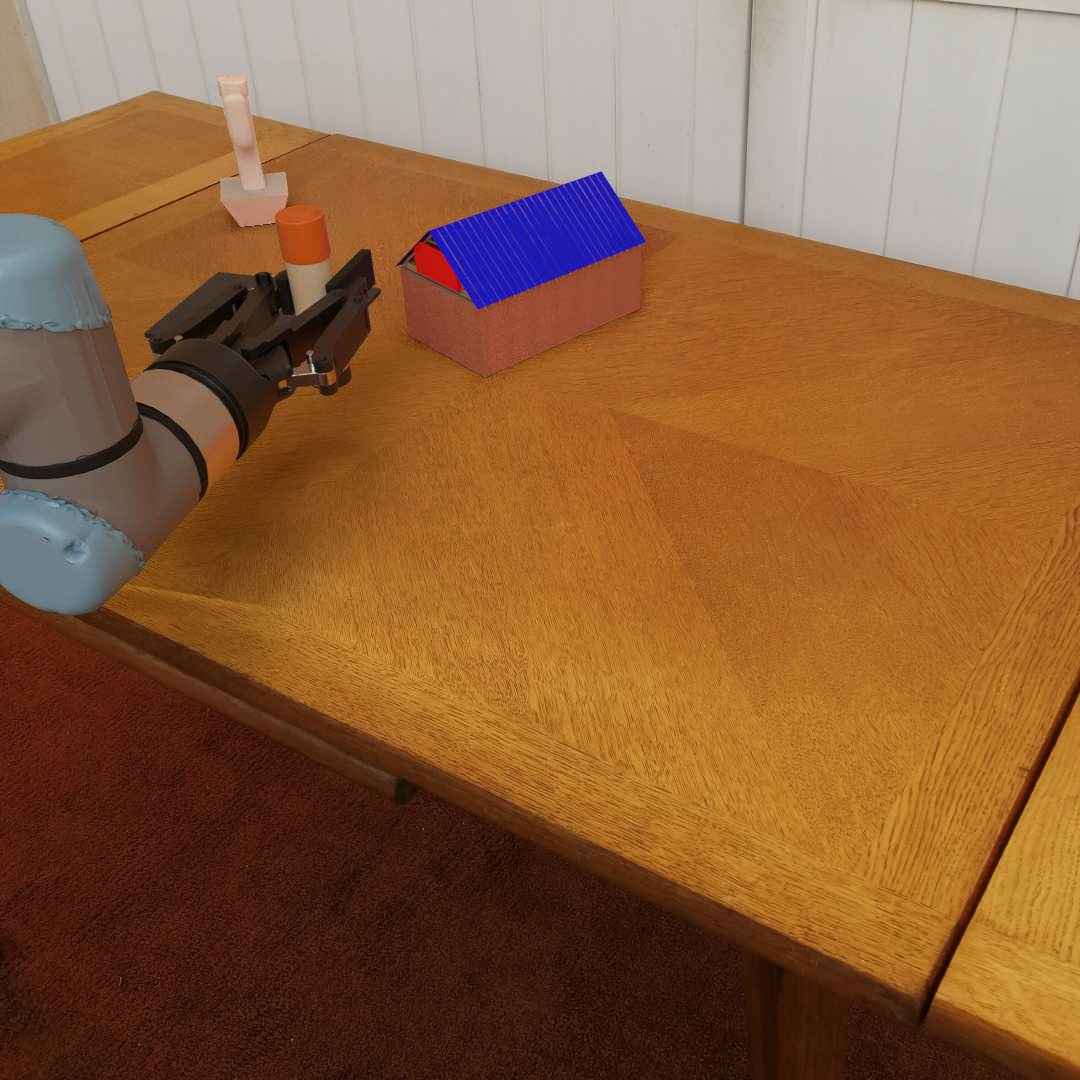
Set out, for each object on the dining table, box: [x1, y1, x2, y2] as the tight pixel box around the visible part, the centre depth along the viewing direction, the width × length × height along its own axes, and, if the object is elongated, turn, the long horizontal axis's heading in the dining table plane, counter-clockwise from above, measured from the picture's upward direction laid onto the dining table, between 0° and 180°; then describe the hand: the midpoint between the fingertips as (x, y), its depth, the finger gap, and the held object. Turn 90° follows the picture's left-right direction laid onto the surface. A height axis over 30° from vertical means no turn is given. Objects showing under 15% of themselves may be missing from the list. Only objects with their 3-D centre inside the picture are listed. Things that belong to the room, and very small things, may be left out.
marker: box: [275, 204, 353, 390], centre depth 82 cm, size 3×3×13 cm
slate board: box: [143, 271, 382, 339], centre depth 108 cm, size 18×14×1 cm
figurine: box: [216, 75, 289, 228], centre depth 122 cm, size 7×9×15 cm
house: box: [394, 170, 647, 378], centre depth 102 cm, size 12×20×12 cm, turn 133°
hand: (345, 264), depth 86 cm, fingers closed on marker, 3 cm apart
